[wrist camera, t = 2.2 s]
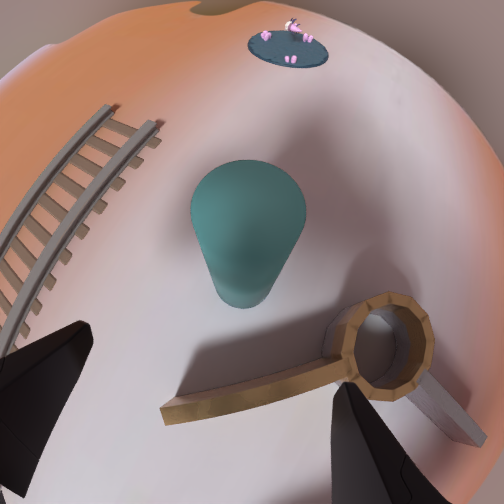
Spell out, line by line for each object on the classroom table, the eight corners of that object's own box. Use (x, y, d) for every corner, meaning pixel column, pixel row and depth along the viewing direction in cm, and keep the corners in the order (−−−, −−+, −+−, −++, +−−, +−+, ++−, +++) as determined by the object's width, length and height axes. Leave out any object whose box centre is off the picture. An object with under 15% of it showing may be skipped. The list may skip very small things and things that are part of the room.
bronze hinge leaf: (280, 493, 16) (289, 519, 12) (169, 401, 19) (153, 413, 14) (417, 341, 21) (448, 337, 17) (323, 248, 23) (340, 227, 19)
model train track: (169, 139, 27) (166, 126, 25) (10, 388, 18) (-2, 389, 16) (103, 112, 29) (98, 101, 27) (-35, 320, 19) (-45, 317, 17)
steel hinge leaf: (433, 465, 17) (460, 477, 12) (303, 354, 20) (319, 355, 16) (474, 405, 19) (503, 407, 14) (361, 285, 22) (386, 271, 18)
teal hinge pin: (243, 320, 21) (249, 287, 10) (202, 279, 22) (167, 206, 11) (283, 280, 22) (328, 208, 11) (243, 242, 23) (248, 143, 12)
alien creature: (245, 32, 35) (247, -1, 29) (318, 37, 36) (325, 6, 30) (249, 68, 32) (251, 27, 25) (336, 74, 32) (348, 38, 26)
